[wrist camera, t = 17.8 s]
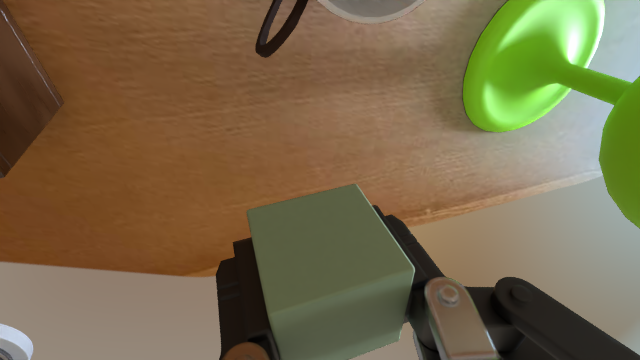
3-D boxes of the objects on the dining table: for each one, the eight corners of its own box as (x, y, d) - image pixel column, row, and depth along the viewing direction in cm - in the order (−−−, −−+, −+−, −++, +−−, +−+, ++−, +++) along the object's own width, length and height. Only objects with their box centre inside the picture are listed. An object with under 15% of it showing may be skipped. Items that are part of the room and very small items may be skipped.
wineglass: (566, 111, 39) (770, 202, 25) (453, 148, 36) (611, 272, 23) (628, -48, 29) (1026, -38, 15) (477, -12, 26) (790, 38, 13)
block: (353, 254, 14) (400, 341, 11) (263, 280, 13) (286, 384, 10) (356, 182, 11) (417, 268, 8) (245, 208, 10) (267, 316, 7)
